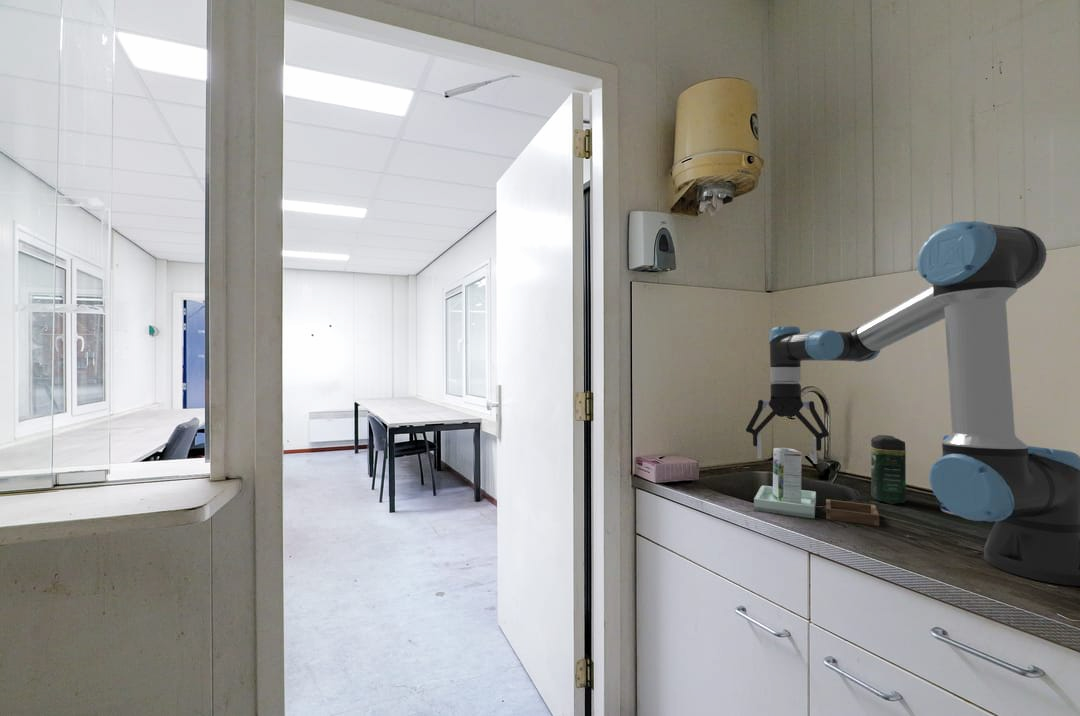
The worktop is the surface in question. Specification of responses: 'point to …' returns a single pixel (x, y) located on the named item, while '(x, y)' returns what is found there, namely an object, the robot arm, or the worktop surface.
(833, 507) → the walnut collar
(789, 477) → the syrup box
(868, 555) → the worktop surface
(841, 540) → the worktop surface
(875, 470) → the coffee jar
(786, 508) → the mint tray
